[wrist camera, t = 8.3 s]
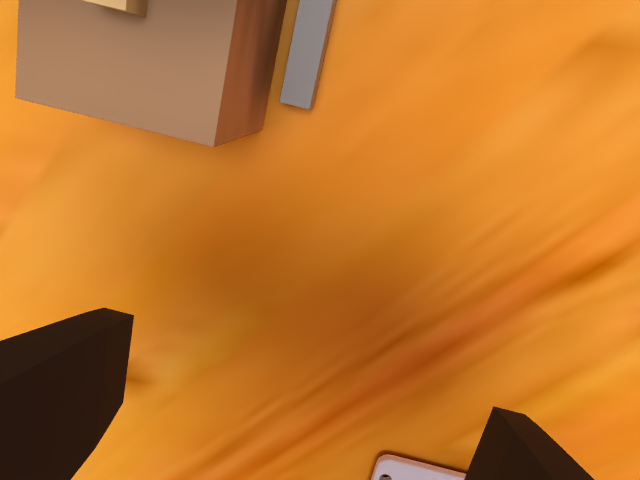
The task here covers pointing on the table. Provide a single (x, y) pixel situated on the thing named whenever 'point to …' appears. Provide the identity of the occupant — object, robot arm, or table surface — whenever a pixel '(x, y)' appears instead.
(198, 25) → the cabinet block
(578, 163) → the table surface
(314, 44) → the wall board
